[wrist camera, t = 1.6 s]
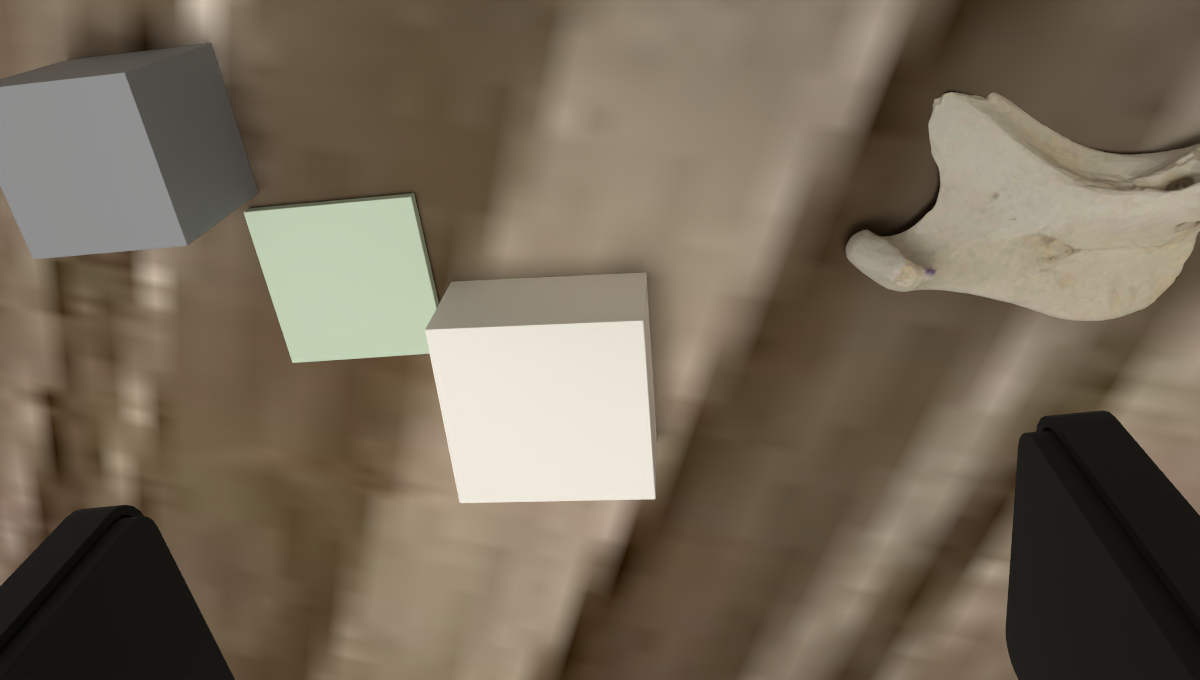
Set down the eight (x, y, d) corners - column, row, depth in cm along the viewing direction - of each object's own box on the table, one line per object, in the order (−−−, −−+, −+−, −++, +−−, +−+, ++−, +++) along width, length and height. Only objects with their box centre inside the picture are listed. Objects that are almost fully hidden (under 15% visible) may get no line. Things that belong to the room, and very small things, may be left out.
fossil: (888, 70, 27) (915, 94, 24) (1232, 127, 27) (1303, 158, 24) (828, 271, 30) (845, 314, 27) (1134, 322, 30) (1186, 371, 27)
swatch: (248, 208, 30) (243, 212, 30) (413, 193, 29) (411, 197, 29) (296, 357, 33) (292, 362, 32) (449, 347, 32) (446, 352, 32)
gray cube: (69, 59, 28) (-43, 91, 24) (212, 42, 27) (124, 72, 23) (126, 204, 30) (33, 259, 26) (259, 192, 30) (187, 245, 25)
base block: (452, 278, 31) (424, 330, 27) (646, 269, 30) (643, 320, 27) (481, 439, 34) (459, 502, 31) (657, 434, 33) (655, 498, 30)
